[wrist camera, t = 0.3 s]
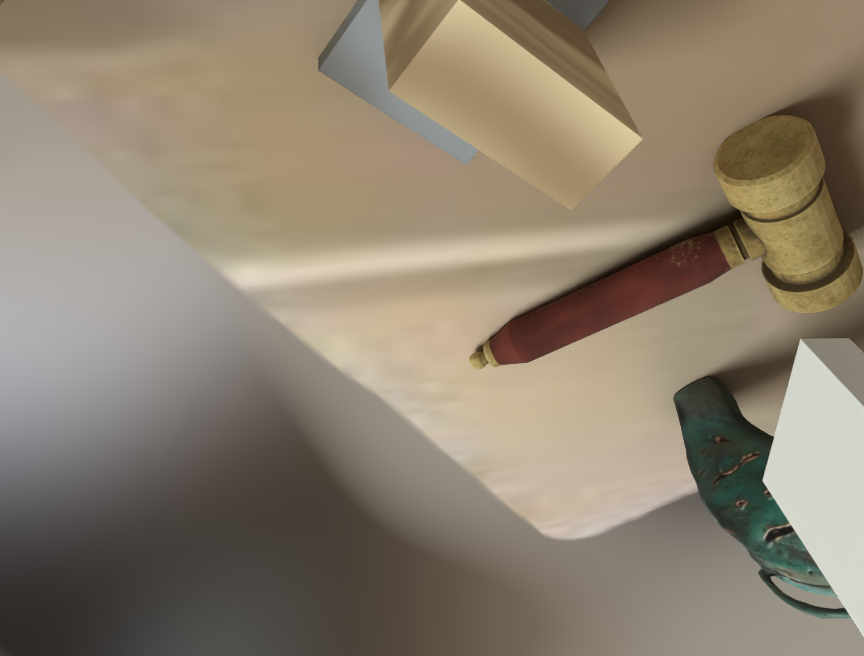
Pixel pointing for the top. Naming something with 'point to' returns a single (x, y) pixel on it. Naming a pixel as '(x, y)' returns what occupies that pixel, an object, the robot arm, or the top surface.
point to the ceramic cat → (745, 489)
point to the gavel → (718, 247)
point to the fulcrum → (491, 84)
